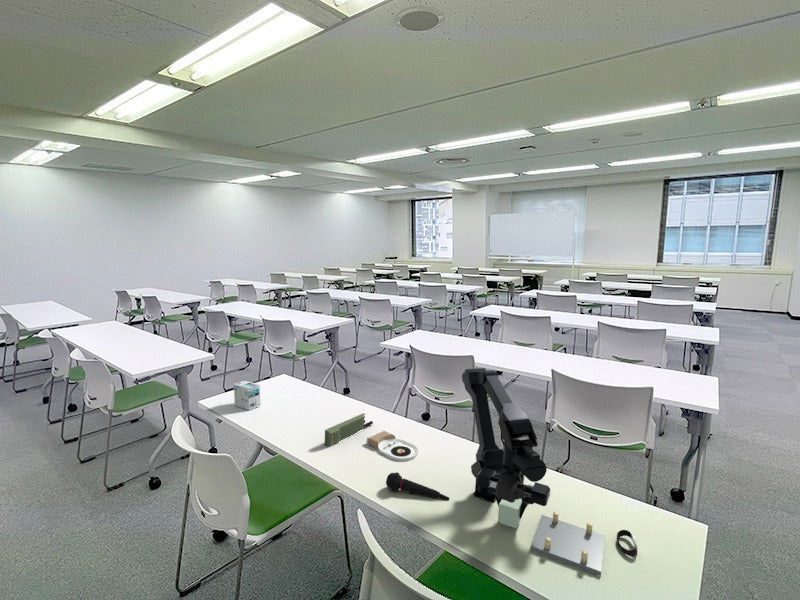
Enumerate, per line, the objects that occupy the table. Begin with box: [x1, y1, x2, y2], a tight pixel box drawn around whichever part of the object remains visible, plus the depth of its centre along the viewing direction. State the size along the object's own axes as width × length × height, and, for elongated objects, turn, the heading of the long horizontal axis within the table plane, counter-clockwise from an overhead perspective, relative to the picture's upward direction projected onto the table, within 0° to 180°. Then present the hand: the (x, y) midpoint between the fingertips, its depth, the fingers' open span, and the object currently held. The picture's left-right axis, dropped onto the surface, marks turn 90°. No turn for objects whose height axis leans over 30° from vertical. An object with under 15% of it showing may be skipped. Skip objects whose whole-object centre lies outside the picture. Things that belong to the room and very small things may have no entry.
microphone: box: [385, 471, 450, 501], centre depth 126 cm, size 6×6×20 cm
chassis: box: [530, 511, 606, 577], centre depth 105 cm, size 16×14×4 cm
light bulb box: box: [233, 380, 261, 411], centre depth 190 cm, size 11×7×11 cm, turn 58°
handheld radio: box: [324, 413, 374, 448], centre depth 163 cm, size 7×3×25 cm
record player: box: [366, 429, 419, 462], centre depth 153 cm, size 12×3×20 cm
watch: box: [616, 529, 639, 557], centre depth 105 cm, size 8×5×4 cm, turn 165°
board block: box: [497, 499, 522, 530], centre depth 112 cm, size 5×7×5 cm
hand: (510, 514), depth 112 cm, fingers closed on board block, 5 cm apart
